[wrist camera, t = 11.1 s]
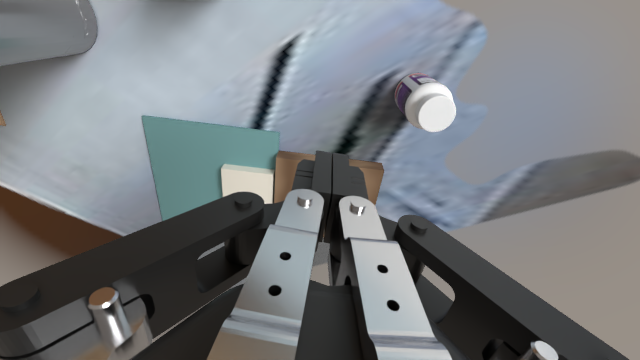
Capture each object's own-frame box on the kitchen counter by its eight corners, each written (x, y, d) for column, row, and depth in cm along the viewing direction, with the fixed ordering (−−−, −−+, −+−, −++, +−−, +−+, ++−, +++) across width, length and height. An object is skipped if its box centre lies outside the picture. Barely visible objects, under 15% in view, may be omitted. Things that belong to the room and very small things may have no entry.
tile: (226, 205, 49) (223, 210, 48) (224, 163, 45) (220, 168, 44) (273, 210, 49) (271, 216, 48) (275, 169, 45) (273, 174, 44)
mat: (164, 222, 52) (163, 223, 52) (143, 115, 42) (141, 116, 42) (274, 234, 53) (274, 236, 52) (279, 132, 43) (279, 133, 42)
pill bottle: (408, 120, 41) (428, 147, 33) (386, 91, 39) (401, 113, 31) (442, 94, 39) (472, 116, 31) (420, 63, 37) (446, 77, 29)
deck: (275, 222, 51) (272, 231, 49) (278, 150, 44) (276, 157, 42) (364, 232, 52) (365, 241, 49) (381, 163, 44) (384, 170, 42)
